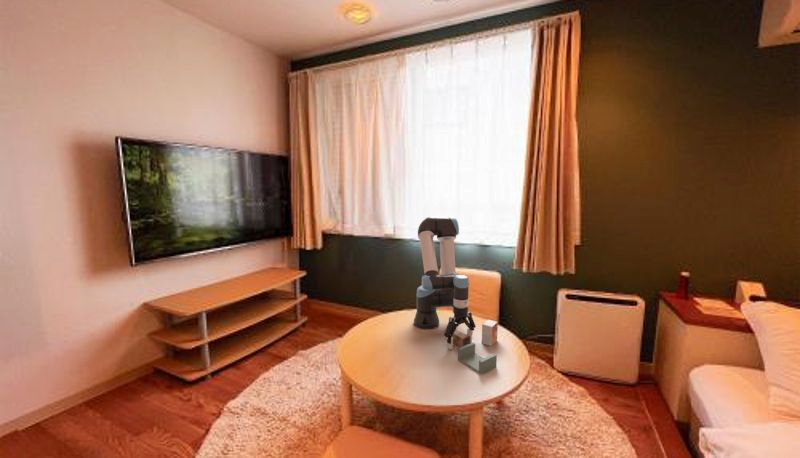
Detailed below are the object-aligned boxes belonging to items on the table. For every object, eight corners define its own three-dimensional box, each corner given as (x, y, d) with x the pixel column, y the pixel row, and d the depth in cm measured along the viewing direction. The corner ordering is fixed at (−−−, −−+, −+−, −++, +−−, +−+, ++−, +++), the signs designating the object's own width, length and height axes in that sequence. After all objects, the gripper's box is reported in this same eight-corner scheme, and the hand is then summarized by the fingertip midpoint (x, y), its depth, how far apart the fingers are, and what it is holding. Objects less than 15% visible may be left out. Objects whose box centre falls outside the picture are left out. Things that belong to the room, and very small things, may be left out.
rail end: (450, 342, 173) (450, 331, 172) (456, 340, 176) (456, 329, 175) (463, 350, 165) (464, 339, 164) (470, 347, 167) (470, 336, 167)
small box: (491, 346, 169) (492, 327, 167) (481, 343, 172) (481, 324, 171) (497, 340, 175) (498, 321, 173) (487, 337, 178) (488, 319, 177)
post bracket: (457, 360, 156) (458, 348, 155) (472, 353, 162) (472, 342, 161) (481, 374, 144) (481, 362, 143) (496, 367, 150) (496, 355, 149)
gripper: (447, 313, 157) (447, 355, 160) (483, 302, 171) (482, 341, 174) (437, 309, 163) (436, 349, 166) (472, 298, 177) (471, 335, 180)
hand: (460, 345), depth 170 cm, fingers open, 13 cm apart
